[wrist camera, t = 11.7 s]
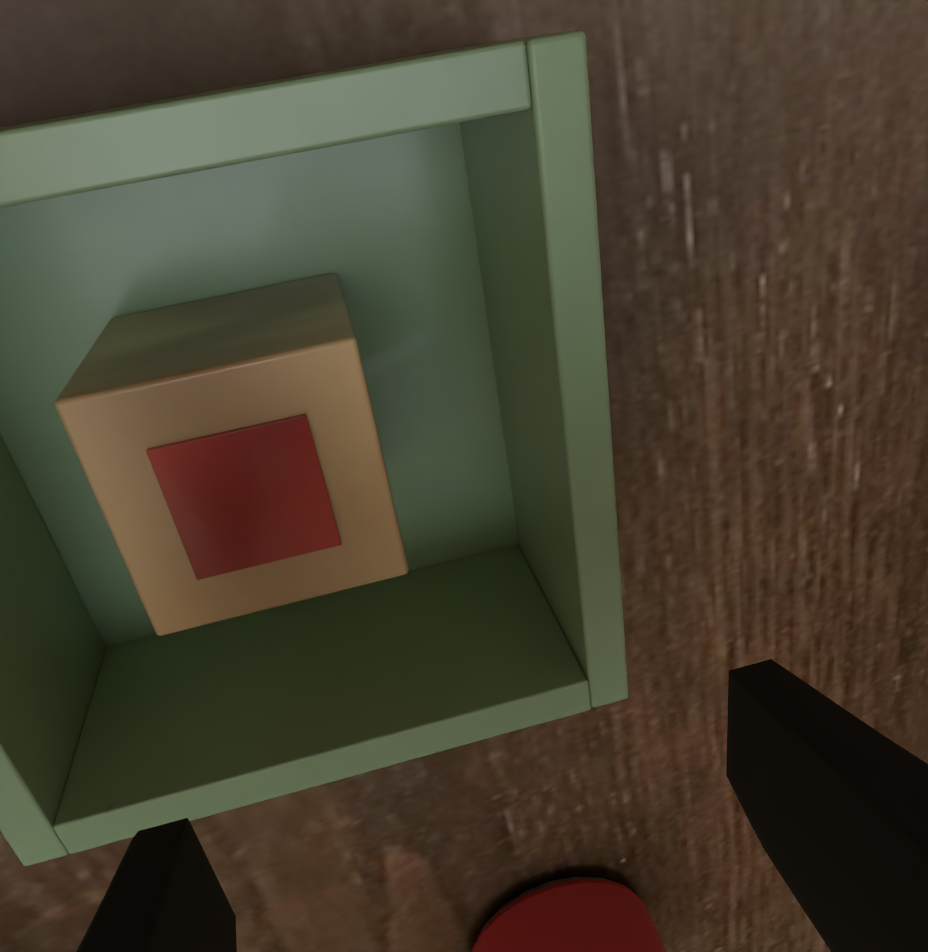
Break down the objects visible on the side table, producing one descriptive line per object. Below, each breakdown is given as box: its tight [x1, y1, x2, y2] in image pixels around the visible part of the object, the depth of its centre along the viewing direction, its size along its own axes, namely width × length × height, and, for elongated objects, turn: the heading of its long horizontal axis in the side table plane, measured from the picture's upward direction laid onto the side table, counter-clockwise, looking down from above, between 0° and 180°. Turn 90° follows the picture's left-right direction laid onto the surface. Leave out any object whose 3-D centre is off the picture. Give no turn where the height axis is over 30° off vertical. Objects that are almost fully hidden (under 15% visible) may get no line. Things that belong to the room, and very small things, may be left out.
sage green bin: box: [0, 30, 628, 866], centre depth 14 cm, size 12×12×6 cm
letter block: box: [55, 273, 409, 636], centre depth 14 cm, size 4×4×4 cm
